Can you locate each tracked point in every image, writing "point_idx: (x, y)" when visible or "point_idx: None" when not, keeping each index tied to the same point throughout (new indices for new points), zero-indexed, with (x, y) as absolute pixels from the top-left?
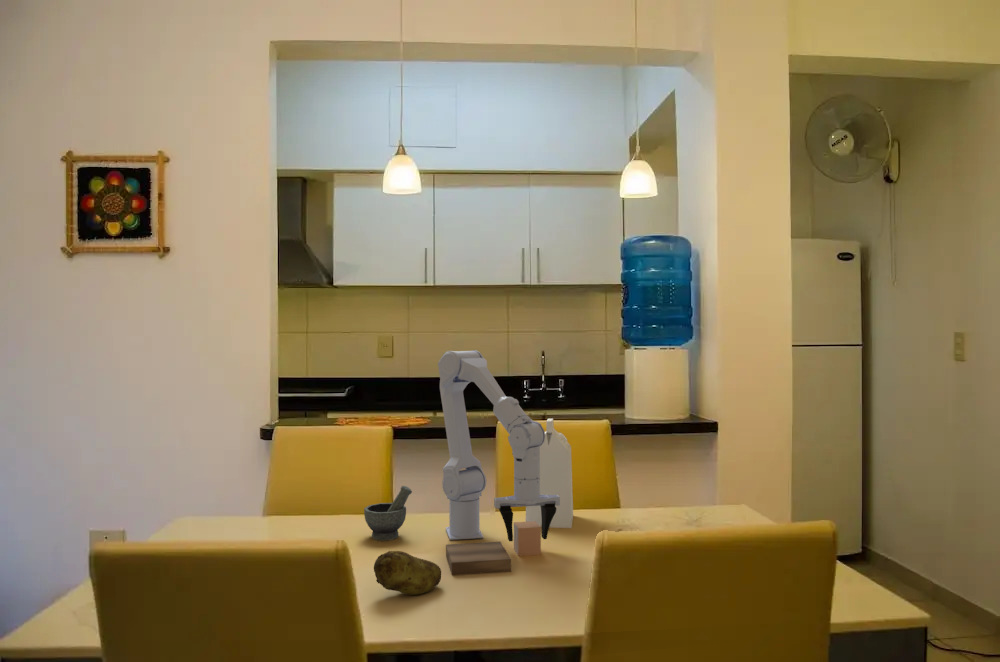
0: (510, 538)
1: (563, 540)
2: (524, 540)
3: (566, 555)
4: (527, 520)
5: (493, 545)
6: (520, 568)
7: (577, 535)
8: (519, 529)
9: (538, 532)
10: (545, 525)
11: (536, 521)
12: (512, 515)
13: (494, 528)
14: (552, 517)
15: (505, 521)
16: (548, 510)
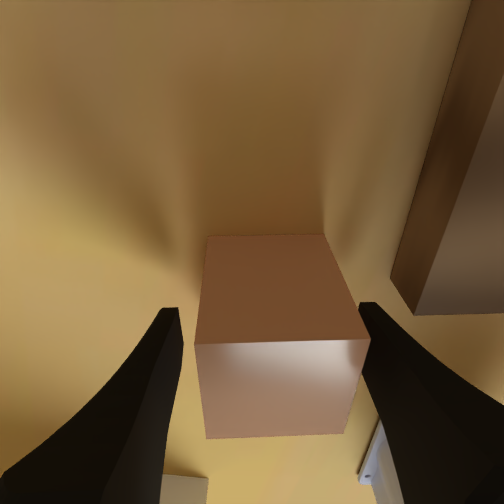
0: (380, 309)
1: (83, 376)
2: (305, 281)
3: (69, 202)
4: (199, 500)
5: (482, 266)
6: (396, 4)
7: (25, 412)
8: (359, 332)
9: (213, 316)
10: (151, 368)
11: (170, 494)
12: (474, 440)
13: (307, 471)
14: (68, 423)
15: (487, 395)
16: (76, 494)
